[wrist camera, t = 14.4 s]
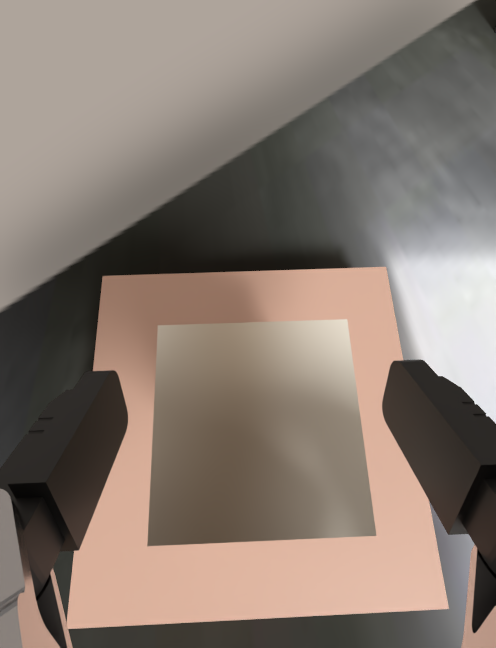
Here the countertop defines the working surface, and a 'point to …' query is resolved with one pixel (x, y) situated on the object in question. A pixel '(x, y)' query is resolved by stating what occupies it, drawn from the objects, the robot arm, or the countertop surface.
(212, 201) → the countertop surface
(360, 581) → the plinth
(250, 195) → the countertop surface
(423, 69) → the countertop surface
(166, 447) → the ash block
